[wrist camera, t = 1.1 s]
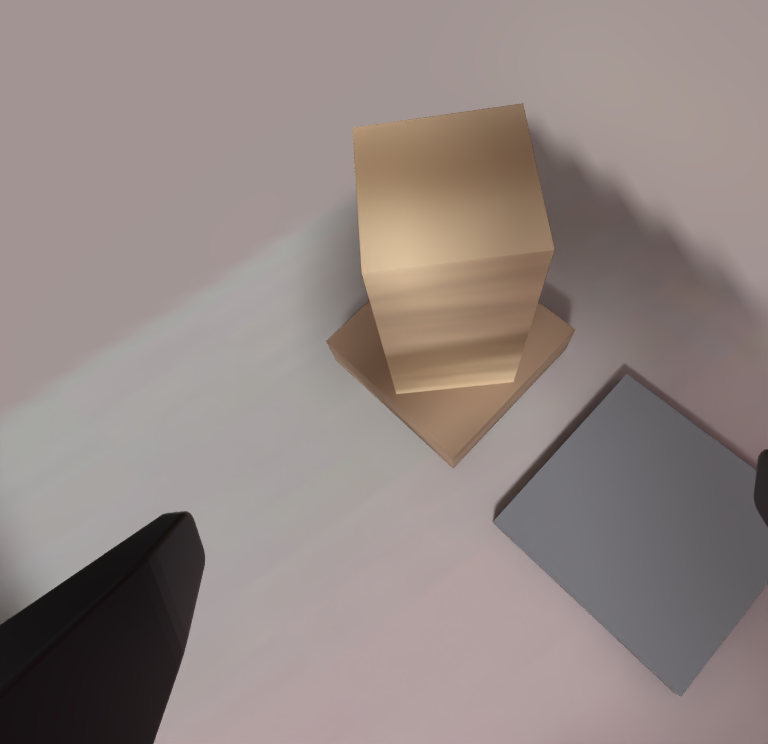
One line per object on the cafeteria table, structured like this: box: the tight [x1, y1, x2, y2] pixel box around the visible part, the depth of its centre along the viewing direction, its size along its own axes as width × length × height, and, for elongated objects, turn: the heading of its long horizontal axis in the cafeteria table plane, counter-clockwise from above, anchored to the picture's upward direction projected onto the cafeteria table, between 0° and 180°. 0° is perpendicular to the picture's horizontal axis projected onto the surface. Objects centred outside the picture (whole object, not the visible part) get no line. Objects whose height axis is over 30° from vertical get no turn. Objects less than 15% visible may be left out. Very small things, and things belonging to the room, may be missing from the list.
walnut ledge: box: [326, 300, 575, 468], centre depth 23 cm, size 7×7×2 cm
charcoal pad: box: [493, 374, 768, 696], centre depth 20 cm, size 8×8×1 cm
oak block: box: [353, 104, 554, 394], centre depth 18 cm, size 4×4×9 cm
